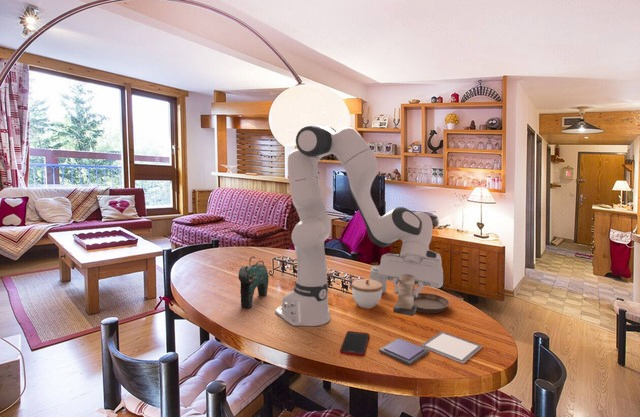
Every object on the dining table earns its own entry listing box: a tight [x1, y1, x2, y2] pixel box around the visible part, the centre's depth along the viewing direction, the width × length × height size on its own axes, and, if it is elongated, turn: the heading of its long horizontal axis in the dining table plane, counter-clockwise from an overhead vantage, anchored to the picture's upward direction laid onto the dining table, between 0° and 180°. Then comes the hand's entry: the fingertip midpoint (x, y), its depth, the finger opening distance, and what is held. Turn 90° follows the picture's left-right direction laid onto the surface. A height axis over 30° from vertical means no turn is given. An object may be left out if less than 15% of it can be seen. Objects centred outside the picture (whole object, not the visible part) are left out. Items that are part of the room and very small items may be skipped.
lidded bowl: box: [351, 278, 383, 309], centre depth 154 cm, size 13×13×11 cm
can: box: [369, 264, 387, 295], centre depth 169 cm, size 8×8×12 cm
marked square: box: [420, 331, 483, 364], centre depth 120 cm, size 14×14×1 cm
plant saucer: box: [413, 292, 450, 314], centre depth 154 cm, size 18×18×3 cm
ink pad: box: [378, 337, 430, 366], centre depth 117 cm, size 11×11×1 cm
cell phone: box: [339, 330, 370, 357], centre depth 122 cm, size 8×15×1 cm, turn 166°
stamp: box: [393, 274, 417, 317], centre depth 115 cm, size 6×6×11 cm
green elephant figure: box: [238, 256, 269, 310], centre depth 156 cm, size 20×6×20 cm, turn 161°
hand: (405, 294), depth 114 cm, fingers closed on stamp, 4 cm apart
